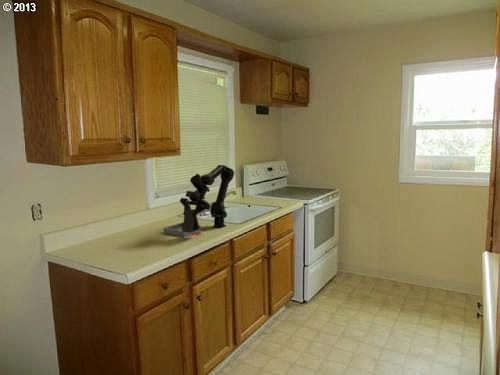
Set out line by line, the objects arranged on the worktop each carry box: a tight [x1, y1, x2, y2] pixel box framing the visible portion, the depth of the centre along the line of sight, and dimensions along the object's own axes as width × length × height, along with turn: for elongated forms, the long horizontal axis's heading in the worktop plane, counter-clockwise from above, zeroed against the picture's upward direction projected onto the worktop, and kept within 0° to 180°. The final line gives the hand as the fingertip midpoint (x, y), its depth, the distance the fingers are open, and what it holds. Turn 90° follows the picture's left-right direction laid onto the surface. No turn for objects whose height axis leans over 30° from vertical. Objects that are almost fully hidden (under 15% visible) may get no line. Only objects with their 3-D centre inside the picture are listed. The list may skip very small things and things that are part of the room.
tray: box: [162, 222, 202, 237], centre depth 223 cm, size 16×16×3 cm
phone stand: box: [182, 208, 200, 233], centre depth 208 cm, size 9×6×12 cm, turn 152°
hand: (188, 216), depth 206 cm, fingers closed on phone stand, 6 cm apart
